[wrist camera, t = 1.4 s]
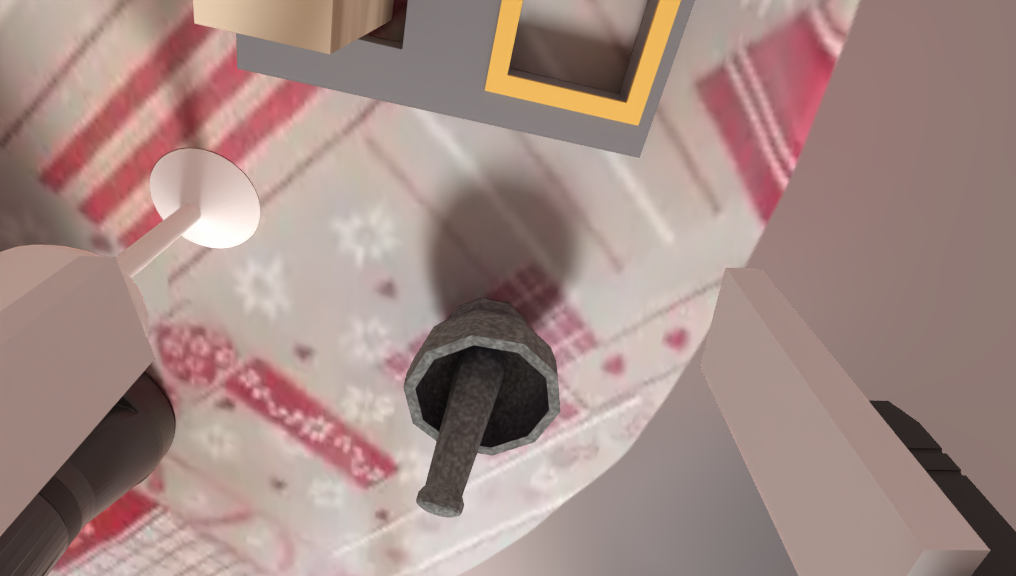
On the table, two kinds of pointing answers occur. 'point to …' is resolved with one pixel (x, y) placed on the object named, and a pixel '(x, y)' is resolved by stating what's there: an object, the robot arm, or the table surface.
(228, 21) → the wooden peg
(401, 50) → the peg board
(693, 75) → the table surface
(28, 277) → the champagne flute
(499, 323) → the mortar and pestle
